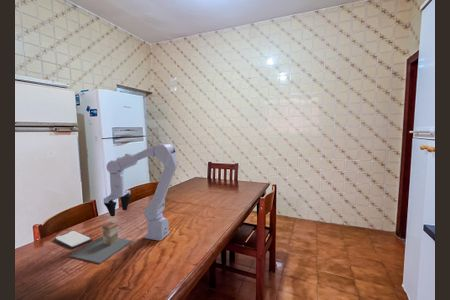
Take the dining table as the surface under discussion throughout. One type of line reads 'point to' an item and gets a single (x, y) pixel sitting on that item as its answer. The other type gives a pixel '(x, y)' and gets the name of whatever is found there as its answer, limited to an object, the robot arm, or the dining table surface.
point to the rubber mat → (99, 250)
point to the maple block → (110, 233)
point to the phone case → (72, 239)
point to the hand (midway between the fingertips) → (118, 212)
